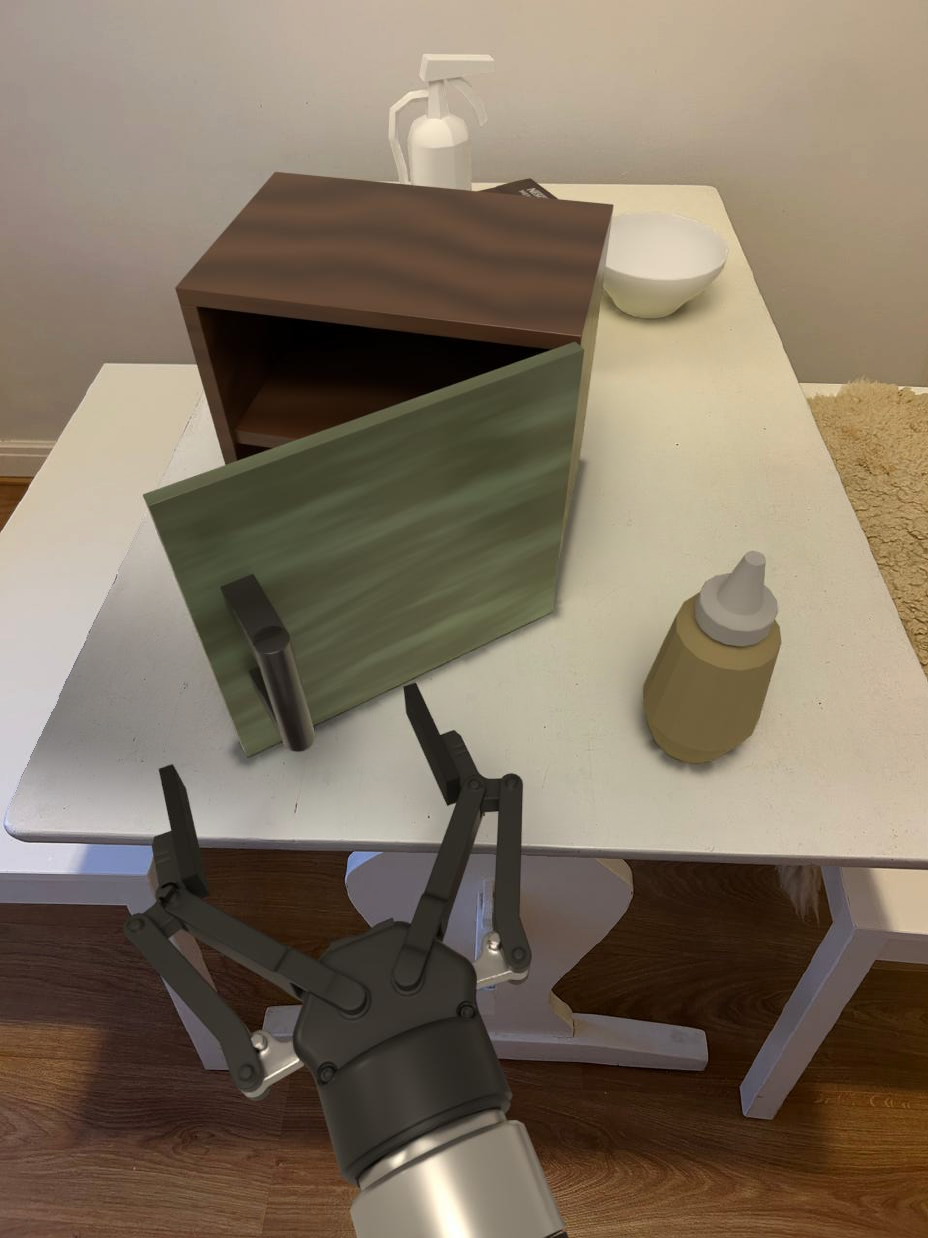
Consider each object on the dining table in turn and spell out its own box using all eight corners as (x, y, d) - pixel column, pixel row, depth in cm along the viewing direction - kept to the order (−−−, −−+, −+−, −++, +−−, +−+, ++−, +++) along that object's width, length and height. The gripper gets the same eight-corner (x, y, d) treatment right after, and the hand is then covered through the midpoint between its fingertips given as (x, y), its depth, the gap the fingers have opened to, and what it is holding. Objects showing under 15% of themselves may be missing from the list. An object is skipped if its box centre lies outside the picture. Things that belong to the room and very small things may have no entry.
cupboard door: (597, 662, 65) (649, 401, 46) (280, 825, 56) (189, 583, 38) (545, 603, 69) (575, 341, 50) (241, 747, 60) (142, 493, 42)
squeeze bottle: (737, 793, 58) (822, 629, 44) (622, 758, 60) (670, 589, 46) (753, 702, 63) (835, 528, 49) (646, 672, 64) (696, 496, 51)
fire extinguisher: (383, 292, 100) (364, 50, 81) (481, 280, 102) (484, 40, 83) (393, 322, 96) (376, 74, 77) (495, 308, 98) (502, 63, 79)
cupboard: (550, 602, 69) (582, 335, 50) (249, 552, 73) (174, 287, 54) (579, 463, 80) (613, 203, 61) (317, 426, 84) (274, 171, 65)
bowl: (693, 352, 92) (707, 292, 87) (558, 319, 97) (563, 260, 91) (729, 285, 101) (744, 227, 96) (604, 257, 106) (611, 200, 100)
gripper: (149, 1305, 34) (87, 847, 46) (680, 1045, 40) (498, 703, 52) (83, 1302, 28) (33, 780, 41) (716, 999, 34) (502, 627, 47)
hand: (295, 736), depth 47 cm, fingers open, 13 cm apart
